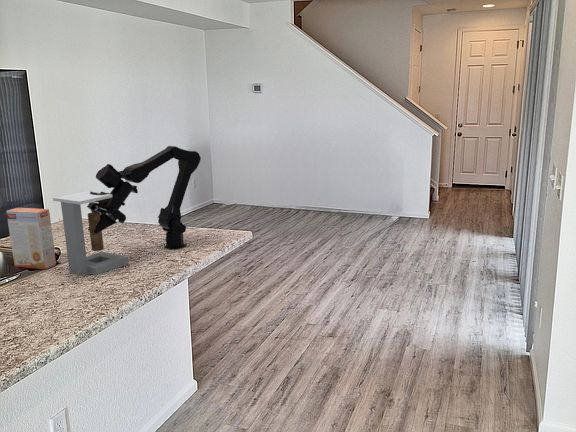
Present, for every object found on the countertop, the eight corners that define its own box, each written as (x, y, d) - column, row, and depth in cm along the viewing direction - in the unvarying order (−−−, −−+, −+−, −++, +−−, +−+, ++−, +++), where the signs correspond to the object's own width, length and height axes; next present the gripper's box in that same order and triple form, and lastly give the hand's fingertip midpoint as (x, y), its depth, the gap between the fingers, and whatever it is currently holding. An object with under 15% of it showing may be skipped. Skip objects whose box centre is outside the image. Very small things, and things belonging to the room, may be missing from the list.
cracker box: (57, 265, 189) (50, 208, 185) (44, 270, 184) (36, 212, 179) (26, 261, 194) (18, 206, 189) (13, 267, 188) (5, 210, 184)
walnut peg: (102, 247, 188) (98, 211, 185) (104, 249, 185) (100, 213, 182) (91, 248, 186) (86, 213, 183) (92, 251, 183) (88, 215, 180)
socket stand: (102, 257, 196) (95, 189, 190) (128, 263, 189) (121, 192, 183) (62, 271, 182) (52, 197, 176) (88, 277, 175) (79, 201, 169)
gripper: (89, 179, 189) (62, 215, 184) (114, 185, 176) (86, 223, 171) (112, 197, 196) (86, 232, 191) (137, 204, 184) (111, 241, 179)
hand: (92, 232), depth 183 cm, fingers closed on walnut peg, 4 cm apart
